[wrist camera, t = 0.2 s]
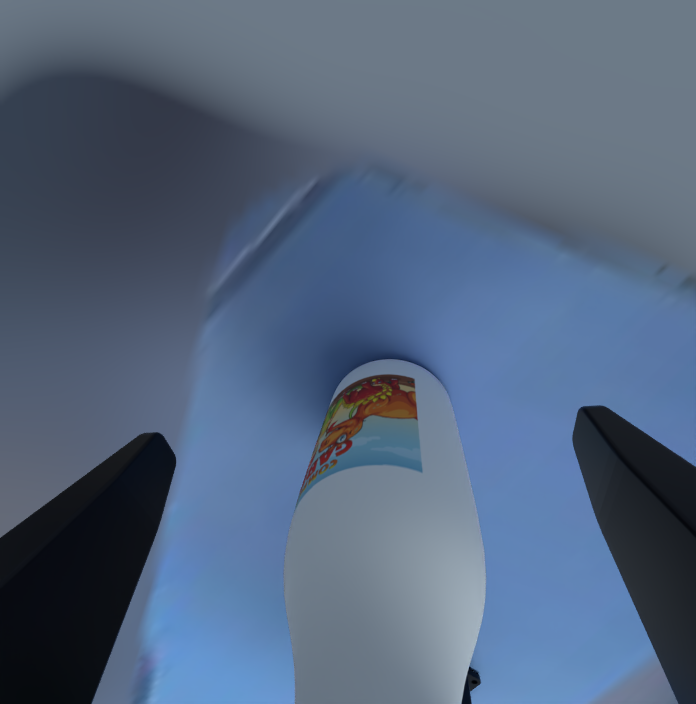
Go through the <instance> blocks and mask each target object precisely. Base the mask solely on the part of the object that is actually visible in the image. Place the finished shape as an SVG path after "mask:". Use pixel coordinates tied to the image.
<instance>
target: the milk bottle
mask: <svg viewBox="0 0 696 704" xmlns="http://www.w3.org/2000/svg"><path fill="white" fill-rule="evenodd" d="M485 592H486V570H485V556H484V547H483V542H482V536H481V531H480V525H479V520H478V514H477V509H476V505H475V500H474V496H473V491H472V487H471V483H470V478H469V474H468V469H467V465H466V461H465V457H464V452H463V448H462V444H461V440H460V436H459V432H458V427H457V423H456V419H455V415H454V411H453V408H452V405H451V402H450V398H449V396H448V393H447V391H446V390H445V388H444V386H443V385H442V384H441V382H440V381H439V380H438V379H437V378H436V377H435V376H434V375H433V374H431V373H430V372H429V371H427V370H426V369H424V368H422V367H420V366H418V365H416V364H413V363H411V362H407V361H403V360H395V359H384V360H377V361H372V362H369V363H366V364H363V365H361V366H359V367H357V368H356V369H354V370H353V371H351V372H350V373H349V374H348V375H347V376H346V377H345V378H344V379H343V380H342V381H341V382H340V384H339V385H338V387H337V389H336V391H335V393H334V395H333V397H332V400H331V403H330V405H329V408H328V411H327V414H326V417H325V419H324V422H323V425H322V428H321V431H320V434H319V437H318V440H317V443H316V445H315V448H314V451H313V454H312V457H311V460H310V463H309V466H308V469H307V472H306V475H305V478H304V481H303V484H302V487H301V490H300V493H299V497H298V500H297V504H296V507H295V511H294V514H293V518H292V521H291V525H290V529H289V533H288V539H287V545H286V550H285V560H284V597H285V605H286V613H287V619H288V625H289V630H290V636H291V643H292V651H293V660H294V675H295V704H461V703H462V697H463V691H464V685H465V681H466V676H467V672H468V669H469V665H470V662H471V658H472V655H473V652H474V648H475V645H476V642H477V638H478V634H479V630H480V626H481V622H482V618H483V611H484V604H485Z"/></svg>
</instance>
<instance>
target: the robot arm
mask: <svg viewBox="0 0 696 704" xmlns="http://www.w3.org/2000/svg"><path fill="white" fill-rule="evenodd" d="M572 440H573V446H574V450H575V453H576V456H577V459H578V463H579V466H580V469H581V472H582V475H583V478H584V482H585V485H586V488H587V491H588V494H589V498H590V501H591V504H592V507H593V510H594V513H595V516H596V519H597V521H598V524H599V526H600V529H601V531H602V534H603V536H604V538H605V540H606V542H607V545H608V547H609V549H610V551H611V554H612V556H613V558H614V560H615V563H616V565H617V567H618V569H619V572H620V574H621V576H622V578H623V581H624V583H625V585H626V587H627V589H628V592H629V594H630V596H631V598H632V601H633V603H634V605H635V607H636V610H637V612H638V614H639V616H640V619H641V621H642V623H643V625H644V628H645V630H646V632H647V634H648V637H649V639H650V641H651V643H652V645H653V648H654V650H655V652H656V654H657V657H658V659H659V661H660V663H661V666H662V668H663V670H664V672H665V675H666V677H667V679H668V681H669V684H670V686H671V688H672V690H673V692H674V695H675V697H676V699H677V701H678V704H696V467H695V466H694V465H692V464H691V463H689V462H688V461H686V460H685V459H683V458H682V457H680V456H679V455H677V454H676V453H674V452H673V451H671V450H670V449H668V448H667V447H665V446H664V445H662V444H661V443H659V442H658V441H656V440H655V439H653V438H652V437H650V436H649V435H647V434H646V433H644V432H643V431H641V430H640V429H638V428H637V427H635V426H634V425H632V424H631V423H629V422H628V421H626V420H625V419H623V418H622V417H620V416H619V415H617V414H616V413H615V412H613V411H612V410H610V409H609V408H607V407H605V406H601V405H599V406H583V407H581V408H580V409H579V410H578V413H577V417H576V422H575V427H574V431H573V438H572ZM175 467H176V457H175V454H174V452H173V451H172V449H171V447H170V446H169V444H168V443H167V441H166V440H165V438H164V436H163V435H162V434H160V433H158V432H153V433H143V434H141V435H139V436H137V437H136V438H135V439H133V440H132V441H131V442H129V443H128V444H127V445H125V446H124V447H123V448H121V449H120V450H119V451H117V452H116V453H114V454H113V455H112V456H110V457H109V458H108V459H106V460H105V461H104V462H102V463H101V464H99V465H98V466H97V467H95V468H94V469H93V470H91V471H90V472H89V473H87V474H86V475H85V476H83V477H82V478H81V479H79V480H78V481H76V482H75V483H74V484H72V485H71V486H70V487H68V488H67V489H66V490H64V491H63V492H62V493H60V494H59V495H58V496H56V497H55V498H54V499H52V500H51V501H49V502H48V503H47V504H45V505H44V506H43V507H41V508H40V509H39V510H37V511H36V512H34V513H33V514H32V515H30V516H29V517H28V518H26V519H25V520H24V521H22V522H21V523H20V524H18V525H17V526H16V527H14V528H13V529H11V530H10V531H9V532H8V533H6V534H5V535H3V536H2V537H1V538H0V704H92V701H93V699H94V696H95V693H96V691H97V688H98V686H99V683H100V681H101V678H102V675H103V673H104V670H105V667H106V665H107V662H108V659H109V657H110V654H111V652H112V649H113V646H114V644H115V641H116V638H117V636H118V633H119V630H120V628H121V625H122V623H123V620H124V618H125V615H126V612H127V610H128V607H129V604H130V602H131V599H132V596H133V594H134V591H135V589H136V586H137V584H138V581H139V578H140V576H141V573H142V570H143V568H144V565H145V563H146V560H147V557H148V555H149V552H150V549H151V547H152V544H153V541H154V539H155V536H156V533H157V530H158V527H159V524H160V521H161V518H162V514H163V511H164V507H165V503H166V500H167V496H168V492H169V489H170V485H171V481H172V478H173V474H174V470H175ZM480 683H481V681H480V676H479V675H478V674H477V673H475V672H473V671H471V670H469V669H468V672H467V676H466V681H465V685H464V691H463V697H462V703H461V704H472V703H471V696H470V691H472V690H473V689H474V688H476V687H477V686H478V685H480Z"/></svg>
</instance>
